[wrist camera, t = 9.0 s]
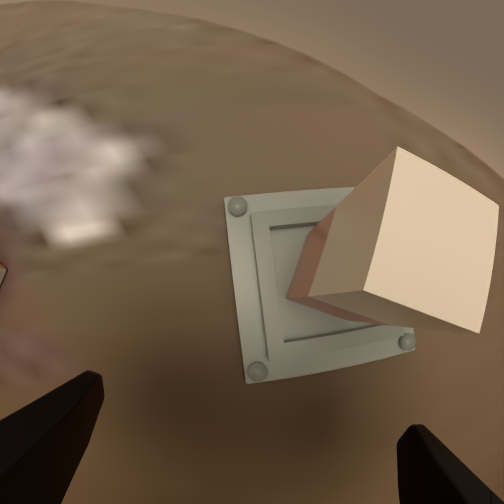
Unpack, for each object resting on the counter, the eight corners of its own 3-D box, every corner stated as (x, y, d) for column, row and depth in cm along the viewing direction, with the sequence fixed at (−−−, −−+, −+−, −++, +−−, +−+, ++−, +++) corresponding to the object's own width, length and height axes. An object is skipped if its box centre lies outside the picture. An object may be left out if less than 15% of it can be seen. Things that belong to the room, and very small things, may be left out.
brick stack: (347, 320, 20) (479, 333, 8) (285, 298, 20) (363, 289, 8) (367, 257, 21) (498, 205, 8) (307, 233, 21) (397, 146, 8)
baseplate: (408, 348, 21) (423, 351, 19) (245, 380, 20) (247, 389, 18) (384, 189, 23) (397, 179, 21) (224, 202, 22) (223, 191, 20)
